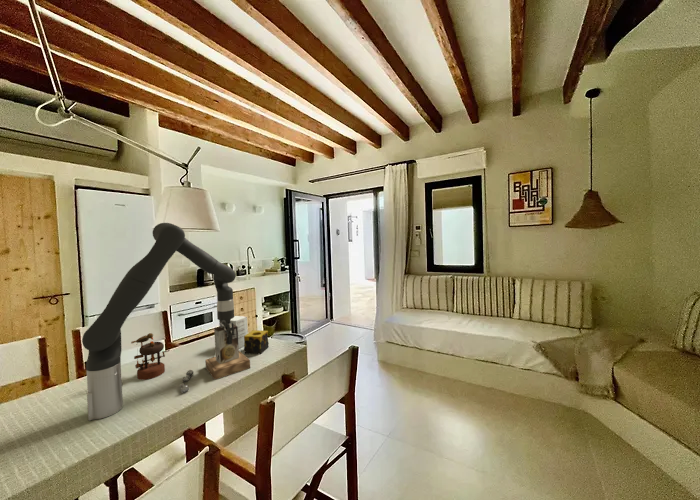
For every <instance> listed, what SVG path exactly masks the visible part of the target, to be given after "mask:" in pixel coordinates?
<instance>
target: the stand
mask: <svg viewBox="0 0 700 500" xmlns="http://www.w3.org/2000/svg"><path fill="white" fill-rule="evenodd" d="M205 368H206V370H207V371H208V372H209V374H210V375H211V377H212V378H213V380H218V379H221V378H224V377H227V376H230V375H233V374H236V373H239V372H240V373H241V372H243V371H246V370H249V369H251V359H250V358H248V357H247V356H246V355H245V354H243V353H242V352H241V351H240V350H239V358H237V359H234V360H231V361H228V362H226V363H223V364H220V363H218V362H217V361H216V356H214V357H211V358H206V359H205Z"/></svg>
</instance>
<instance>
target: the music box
mask: <svg viewBox="0 0 700 500" xmlns="http://www.w3.org/2000/svg"><path fill="white" fill-rule="evenodd" d="M153 336H154V334H153V333H152V332H151V333H148V334H146V335H143V336H141V337H139V338H138V339H136V340H132V341H131V342H130V344H134V343H136V344H139V343H140V348H139V350H138V352H139V355H138V354H136V355H134V356H133V359H134V360H136V364H135V369H136V375H137V377H136V378H137V380H140V381H147V380H151V379H155V378H158V377H159V376H161V375H163V374H164V373H165V372H166V368H165V366H166V365H165V363H164V362H161V359H162V358H165V357H166V354H165V353H167V352H170V349H168V350H165V351H164V347H165V346H164V343H163V342H162V341H154V337H153ZM150 339H151V341H149V340H150ZM148 341H149V342H148ZM146 342H147V343H146ZM143 343H144V344H143ZM161 353H162V355H160V354H161ZM155 355H156V356H157V357H155ZM148 356H151V357H150V359H148ZM140 358H141V359H142V358H144V359H142V360H141V361H142V363H139V360H138V359H140ZM156 360H157V362H154V361H156ZM149 361H150V362H149Z"/></svg>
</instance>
